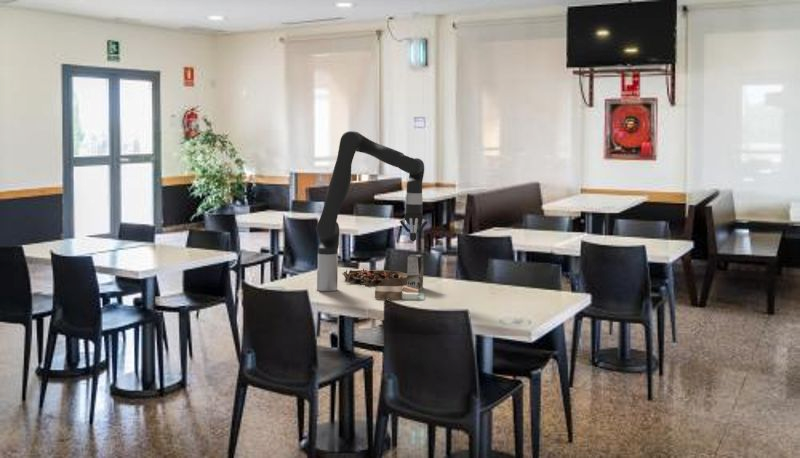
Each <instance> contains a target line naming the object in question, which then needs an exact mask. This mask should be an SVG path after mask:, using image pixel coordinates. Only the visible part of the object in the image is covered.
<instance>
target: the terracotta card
mask: <svg viewBox="0 0 800 458" xmlns="http://www.w3.org/2000/svg"><path fill="white" fill-rule="evenodd" d="M403 292H410V293H419V291H418V289H415V288H411V287H407V285H403V286H402V293H403Z"/></svg>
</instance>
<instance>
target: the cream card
mask: <svg viewBox="0 0 800 458" xmlns="http://www.w3.org/2000/svg"><path fill="white" fill-rule="evenodd" d="M418 293H419V292H418ZM418 293H410V292H403V291H402V299H401V300H403V299H418Z"/></svg>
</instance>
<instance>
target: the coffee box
mask: <svg viewBox="0 0 800 458" xmlns="http://www.w3.org/2000/svg"><path fill="white" fill-rule="evenodd" d="M406 267H407V269H406V270H407V271H406V273H407V285H406V286H407V287H411V288H415V289H418V292H419V291H421V290H422V289H423V288H424V254H419V253H418V254H416V253H415V254H412V253H411V254H410V255H408V256H407V266H406Z"/></svg>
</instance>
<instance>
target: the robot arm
mask: <svg viewBox="0 0 800 458" xmlns="http://www.w3.org/2000/svg"><path fill="white" fill-rule="evenodd" d="M356 152H358V153H363V154H367V155H369V156H371V157H373V158H375V159H377V160H379V161H381V162H383V163H385V164H387V165H389V166H392V167H394V168H398V169H400V170H401V171H403V172H405V173H407V174H409V175H408V180H407V182H406V196H405V215H404V216H403V217H404V218H402V219H400V220H399V223H400V224H401V226H402V227H403V229H404V230H405V231H406V232H408V233H409V239H410V241H411V242H416V240H417V234H418V233H420V232H421V231H423V229H424V227H425V226H426V225H427V224H428V220H426V219H424V216H423V199H424V198H423V180H424V174H425V164H424V161H423V160H422V159H421V158H417V157H416V158H415V157H412V156H411V157H410V156H408V155H405V153H403V152H402V151H401V152H400V151H398V150H396V149H393V148H390V147H388V146H385V145H383V144H379V143H377V142H375V141H373V140H371V139H369V138H368V137H366V136H364V135H363V134H361V133H360V132H358V131H355V130H353V131H351V130H350V131H345V132H344V133H342V135H341V137H340V140H339V146H338V152H337V157H336V161H335V164H334V167H333V171H332V175H331V177H330V180H329V184H328V187H327V193H326V196H325V201H324V206H323V209H322V212H321V214H320V217H319V220H318V222H317V225H316V229H315V231H316V234H317V236H318V237H319V245H318V247H317V270H316V291H321V292H334V291H335V292H336V291H337V290H338V270H339V269H338V266H339V265H338V264H339V263H338V260H339V258H338V256H339V255H338V253H339V252H338V251H339V247H340V246H339V245H340V225H339V223H338V222H337V220H338V216H339V213H340V210H341V208H342V206H343V205H344V203H345V201H346V199H347V196H348V194H349V191H350V190H349V189H350V186H351V181H352V164H353V160H354V156H355V155H356ZM406 223H407V224H406ZM420 224H421V225H420ZM407 225H409V227H408V226H407ZM419 225H420V226H419ZM413 226H414V228H413ZM418 226H419V227H418Z"/></svg>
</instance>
